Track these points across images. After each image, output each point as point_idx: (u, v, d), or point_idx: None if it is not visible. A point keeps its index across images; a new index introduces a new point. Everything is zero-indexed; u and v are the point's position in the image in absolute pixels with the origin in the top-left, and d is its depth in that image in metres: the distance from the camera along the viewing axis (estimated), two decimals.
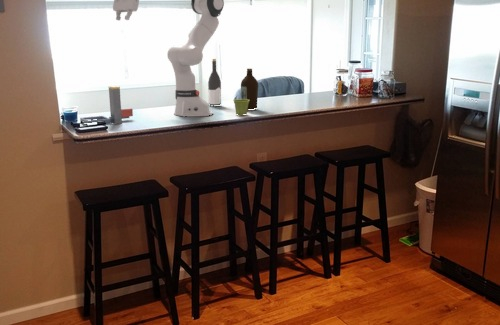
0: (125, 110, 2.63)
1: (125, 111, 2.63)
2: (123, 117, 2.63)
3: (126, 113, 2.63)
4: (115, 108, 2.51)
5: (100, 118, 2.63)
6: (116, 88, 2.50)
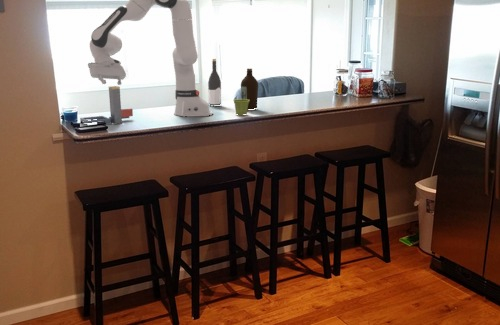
0: (125, 110, 2.63)
1: (125, 111, 2.63)
2: (123, 117, 2.63)
3: (126, 113, 2.63)
4: (115, 108, 2.51)
5: (100, 118, 2.63)
6: (116, 88, 2.50)
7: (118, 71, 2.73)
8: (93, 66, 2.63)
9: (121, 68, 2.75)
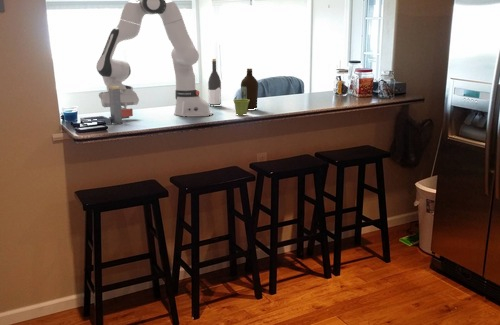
0: (125, 110, 2.63)
1: (125, 111, 2.63)
2: (123, 117, 2.63)
3: (126, 113, 2.63)
4: (115, 108, 2.51)
5: (100, 118, 2.63)
6: (116, 88, 2.50)
7: (130, 97, 2.69)
8: (103, 96, 2.62)
9: (133, 93, 2.71)
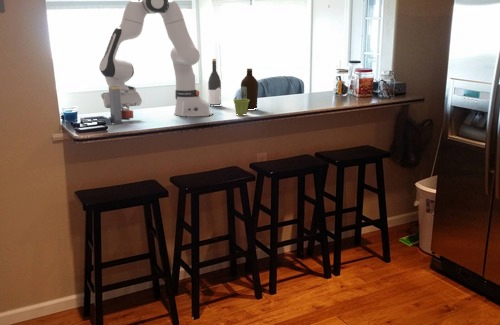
0: (125, 111, 2.58)
1: (125, 112, 2.59)
2: (122, 118, 2.59)
3: (125, 114, 2.59)
4: (115, 108, 2.51)
5: (100, 118, 2.63)
6: (116, 88, 2.50)
7: (133, 98, 2.66)
8: (106, 96, 2.59)
9: (136, 94, 2.68)
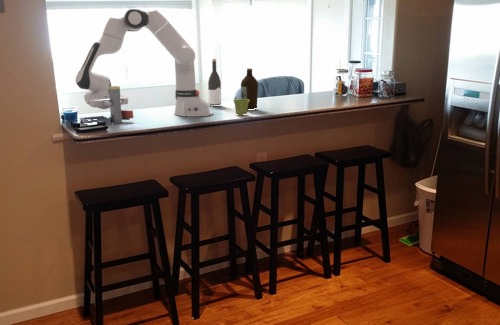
0: (124, 111, 2.58)
1: (124, 112, 2.58)
2: (122, 118, 2.59)
3: (125, 114, 2.59)
4: (115, 108, 2.51)
5: (100, 118, 2.63)
6: (116, 88, 2.50)
7: None
8: (91, 99, 2.53)
9: (120, 96, 2.64)
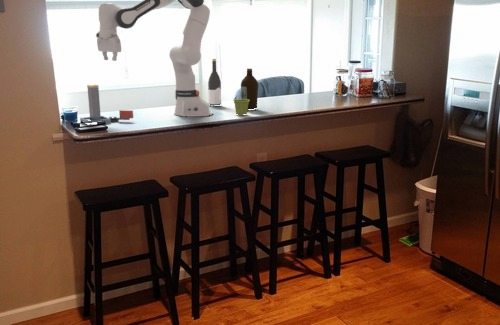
0: (124, 111, 2.58)
1: (124, 112, 2.58)
2: (122, 118, 2.59)
3: (125, 114, 2.59)
4: (94, 106, 2.52)
5: None
6: (95, 86, 2.50)
7: None
8: None
9: None
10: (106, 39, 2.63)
